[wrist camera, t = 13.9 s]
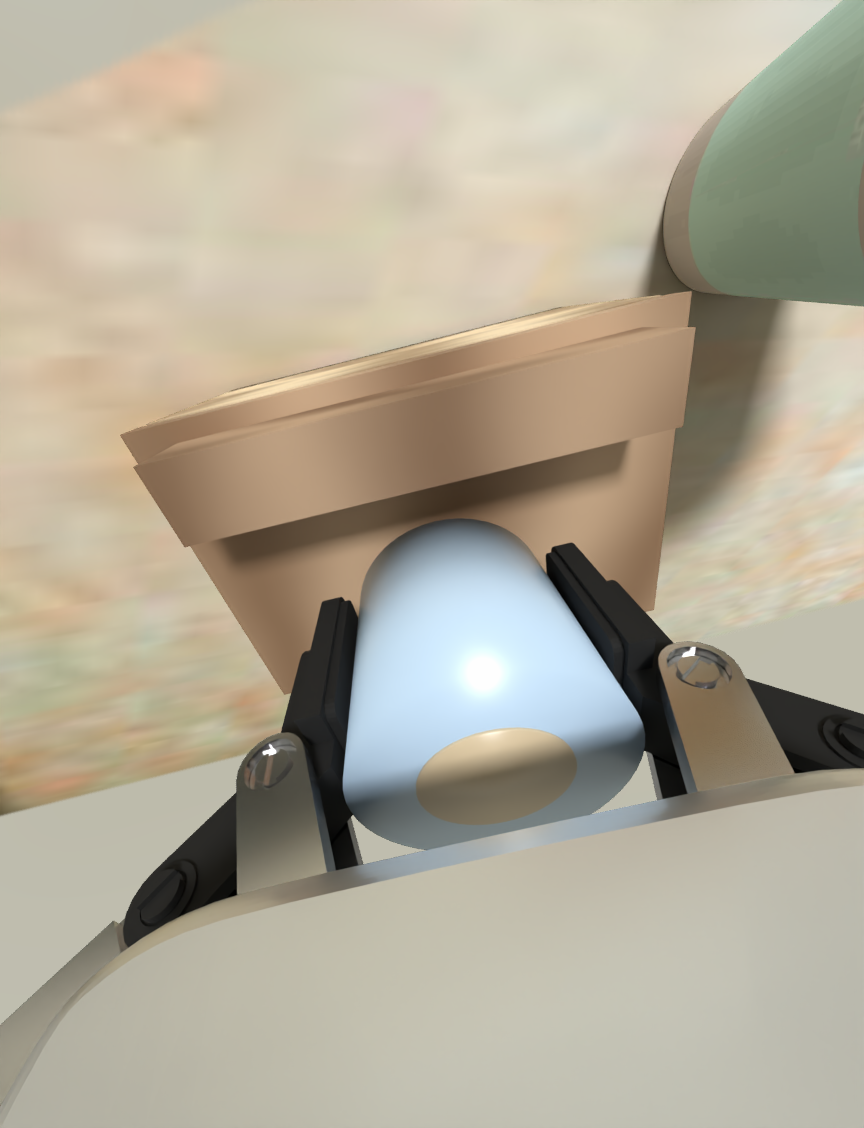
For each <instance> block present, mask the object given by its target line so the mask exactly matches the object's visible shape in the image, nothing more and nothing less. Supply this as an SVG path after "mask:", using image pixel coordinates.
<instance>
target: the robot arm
mask: <svg viewBox="0 0 864 1128" xmlns="http://www.w3.org/2000/svg"><path fill="white" fill-rule="evenodd" d="M546 572H547V575H548V577H549V578H550V580H551V581H552V583H553V584H554V586H555V587H556V589H557V591H558V592H559V594H560V595H561V597H562V598H563V600H564V601H565V603H566V604H567V606H568V607H569V609H570V610H571V612H572V613H573V615H574V616H575V618H576V619H577V621H578V623H579V624H580V626H581V627H582V629H583V630H584V632H585V633H586V635H587V636H588V638H589V639H590V641H591V642H592V644H593V645H594V647H595V648H596V650H597V651H598V653H599V655H600V656H601V658H602V659H603V661H604V662H605V664H606V665H607V667H608V668H609V670H610V671H611V673H612V674H613V676H614V677H615V679H616V680H617V682H618V683H619V685H620V687H621V688H622V690H623V691H624V693H625V694H626V696H627V697H628V699H629V700H630V702H631V703H632V705H633V706H634V708H635V709H636V711H637V712H638V714H639V717H640V719H641V721H642V723H643V727H644V731H645V748H644V751H646V752H647V756H648V761H649V766H650V770H651V775H652V779H653V784H654V788H655V793H656V797H657V801H652V802H647V803H643V804H638V805H633V806H629V807H624V808H619V809H614V810H610V811H605V812H600V813H596V814H591V815H586V816H581V817H577V818H572V819H568V820H563V821H558V822H554V823H549V824H545V825H540V826H535V827H531V828H526V829H522V830H517V831H512V832H508V833H503V834H499V835H494V836H489V837H485V838H480V839H476V840H471V841H467V842H462V843H457V844H453V845H448V846H444V847H439V848H435V849H430V850H426V851H422V852H417V853H413V854H408V855H403V856H399V857H394V858H391V859H386V860H381V861H377V862H372V863H368V864H363V861H362V857H361V854H360V850H359V846H358V842H357V838H356V835H355V831H354V827H353V823H352V819H351V816H352V815H353V814H352V812H351V811H350V809H349V807H348V805H347V803H346V801H345V797H344V793H343V772H344V762H345V752H346V741H347V731H348V720H349V710H350V700H351V689H352V679H353V669H354V658H355V648H356V637H357V627H358V616H357V614H356V611H355V609H354V606H353V604H352V602H351V601H350V600H347V601H345V600H344V599H343V597H338V598H334V599H330V600H326V601H323V602H322V603H321V607H320V611H319V615H318V620H317V624H316V628H315V632H314V637H313V641H312V645H311V649H310V650H309V651H305V652H304V653H302V655H301V658H300V662H299V665H298V669H297V673H296V677H295V681H294V685H293V688H292V692H291V696H290V700H289V704H288V708H287V711H286V715H285V719H284V723H283V727H282V730H281V733H278V734H275V735H272V736H270V737H267V738H266V739H264V740H263V741H261V742H260V743H258V744H257V745H256V746H255V747H254V748H253V749H252V750H251V751H250V752H249V753H248V754H247V756H246V757H245V758H244V760H243V761H242V764H241V766H240V768H239V770H238V774H237V779H236V793H235V794H234V795H233V796H232V797H231V798H230V799H229V800H228V801H227V802H226V803H225V804H224V805H223V806H222V807H221V808H220V809H218V810H217V811H216V812H215V813H214V814H213V815H212V816H211V817H210V818H209V819H208V820H207V821H206V822H205V823H204V824H203V825H202V826H201V827H200V828H199V829H198V830H197V831H196V832H194V833H193V834H192V835H191V836H190V837H189V838H188V839H187V840H186V841H185V842H184V843H183V844H182V845H181V846H180V847H179V848H178V849H177V850H176V851H175V852H174V853H173V854H172V855H170V856H169V857H168V858H167V860H165V861H164V862H163V863H162V864H161V865H160V866H159V867H158V868H157V869H156V870H155V871H154V872H153V873H152V874H151V875H150V876H149V877H148V879H147V880H146V881H145V882H144V883H143V884H142V886H141V887H140V889H139V890H138V892H137V893H136V895H135V896H134V898H133V900H132V902H131V904H130V907H129V909H128V911H127V913H126V917H125V919H124V920H123V921H122V922H121V923H117V922H115V921H112V922H111V923H110V924H109V925H108V926H107V927H106V928H105V929H104V930H103V931H102V932H101V933H99V934H98V935H97V936H96V937H95V938H94V939H93V940H92V941H91V942H90V943H89V944H88V945H86V946H85V947H84V948H83V949H82V950H81V951H80V952H79V953H78V954H77V955H76V956H74V957H73V958H72V959H71V960H70V961H69V962H68V963H67V964H66V965H65V966H64V967H63V968H61V969H60V970H59V971H58V972H57V973H56V974H55V975H54V976H53V977H52V978H51V979H50V980H48V981H47V982H46V983H45V984H44V985H43V986H42V987H41V988H40V989H39V990H38V991H37V992H36V993H34V994H33V995H32V996H31V997H30V998H29V999H28V1000H27V1001H26V1002H25V1003H23V1004H22V1005H21V1006H20V1007H19V1008H18V1009H17V1010H16V1011H15V1012H14V1013H13V1014H12V1015H11V1016H9V1017H8V1018H7V1019H6V1020H5V1021H4V1022H3V1023H2V1024H1V1025H0V1128H864V714H861V713H857V712H854V711H851V710H848V709H844V708H841V707H837V706H834V705H831V704H828V703H825V702H821V701H818V700H815V699H811V698H808V697H805V696H801V695H798V694H795V693H792V692H789V691H785V690H782V689H779V688H775V687H772V686H769V685H766V684H762V683H759V682H756V681H753V680H749V679H746V678H745V676H744V675H743V673H742V671H741V669H740V667H739V666H738V664H737V663H736V662H735V660H734V659H732V658H731V657H730V656H729V655H727V654H726V653H725V652H723V651H721V650H719V649H717V648H715V647H713V646H710V645H707V644H703V643H699V642H690V641H686V642H676V643H673V642H672V641H671V640H670V639H669V638H668V637H667V636H666V634H665V633H664V632H663V631H662V630H661V629H660V628H659V627H658V626H657V625H656V624H655V622H654V621H653V620H652V619H651V618H650V617H649V616H648V615H647V614H646V613H645V611H644V610H643V609H642V608H641V607H640V606H639V605H638V604H637V603H636V602H635V601H634V599H633V598H632V597H631V596H630V595H629V594H628V593H627V592H626V591H625V590H624V588H623V587H622V586H621V585H620V584H619V583H618V582H616V581H615V580H609V581H606V579H605V578H604V577H603V576H602V575H601V574H600V573H599V571H598V570H597V569H596V568H595V567H594V566H593V565H592V563H591V562H590V561H589V560H588V559H587V558H586V557H585V555H584V554H583V553H582V552H581V551H580V550H579V549H578V547H577V546H576V545H575V544H574V543H572V542H571V543H566V544H562V545H558V546H554V547H552V549H551V552H550V553H547V554H546Z"/></svg>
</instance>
